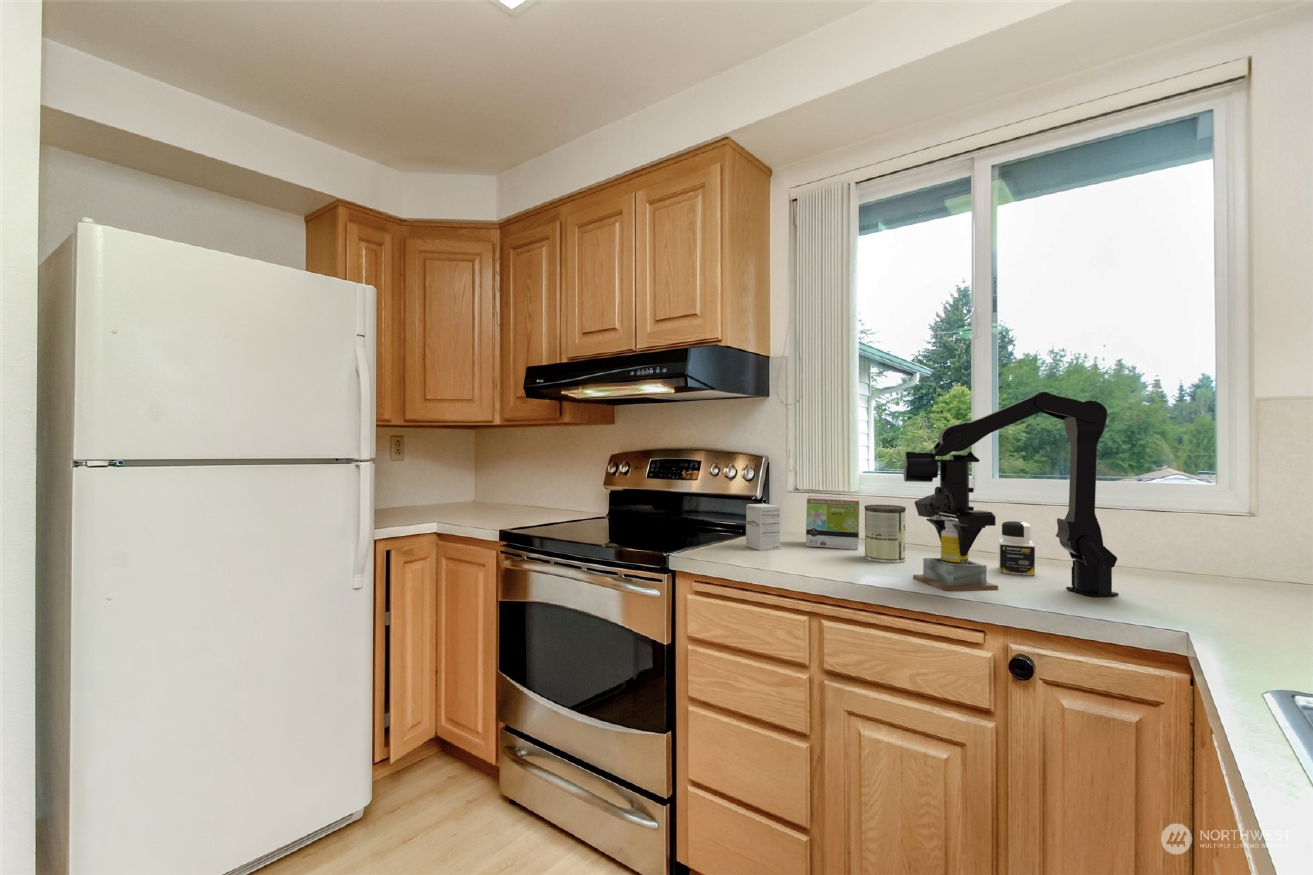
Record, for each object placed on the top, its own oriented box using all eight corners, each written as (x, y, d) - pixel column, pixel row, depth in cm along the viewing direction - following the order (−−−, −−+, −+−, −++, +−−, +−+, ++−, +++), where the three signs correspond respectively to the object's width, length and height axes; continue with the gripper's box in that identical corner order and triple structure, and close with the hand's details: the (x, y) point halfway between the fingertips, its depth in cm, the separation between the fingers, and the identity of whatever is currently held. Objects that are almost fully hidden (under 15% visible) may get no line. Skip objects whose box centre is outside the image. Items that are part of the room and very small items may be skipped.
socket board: (998, 589, 126) (998, 566, 126) (946, 591, 124) (946, 568, 124) (961, 576, 137) (961, 556, 137) (913, 578, 136) (913, 557, 136)
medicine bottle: (999, 572, 142) (999, 522, 143) (998, 567, 149) (998, 519, 149) (1035, 576, 139) (1035, 524, 139) (1032, 570, 145) (1032, 521, 146)
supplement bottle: (964, 568, 127) (963, 522, 127) (937, 565, 131) (937, 520, 131) (971, 565, 131) (971, 520, 131) (945, 561, 134) (945, 518, 135)
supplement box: (745, 546, 176) (745, 504, 176) (765, 545, 179) (766, 503, 179) (759, 551, 169) (759, 506, 169) (780, 549, 172) (781, 505, 172)
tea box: (805, 547, 176) (805, 497, 176) (807, 542, 185) (807, 494, 185) (859, 550, 171) (859, 499, 171) (858, 545, 181) (858, 496, 181)
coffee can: (860, 555, 164) (860, 504, 164) (898, 556, 163) (899, 504, 163) (869, 562, 154) (870, 507, 154) (911, 563, 153) (911, 508, 153)
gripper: (897, 480, 139) (897, 547, 139) (947, 485, 120) (948, 563, 120) (940, 480, 141) (941, 546, 140) (997, 485, 122) (997, 561, 122)
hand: (954, 553), depth 131 cm, fingers closed on supplement bottle, 5 cm apart
